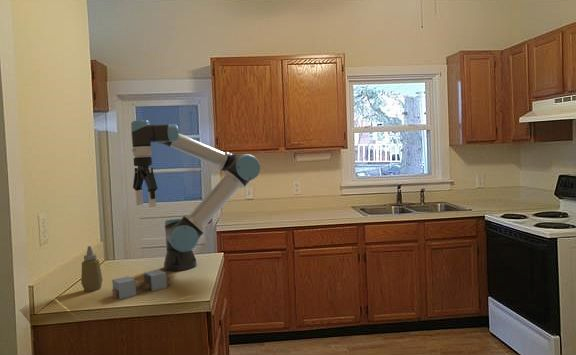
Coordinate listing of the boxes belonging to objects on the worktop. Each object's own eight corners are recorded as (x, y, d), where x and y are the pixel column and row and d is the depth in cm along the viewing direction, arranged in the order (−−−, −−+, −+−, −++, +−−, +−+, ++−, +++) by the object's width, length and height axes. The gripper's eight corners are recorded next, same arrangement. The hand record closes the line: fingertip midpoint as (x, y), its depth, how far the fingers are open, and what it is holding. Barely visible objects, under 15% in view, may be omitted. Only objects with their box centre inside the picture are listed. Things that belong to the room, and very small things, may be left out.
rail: (167, 284, 188) (166, 276, 188) (170, 286, 186) (169, 277, 186) (112, 298, 174) (112, 289, 174) (115, 299, 172) (114, 290, 171)
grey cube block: (159, 284, 188) (158, 269, 188) (167, 287, 182) (166, 272, 182) (143, 287, 184) (142, 273, 183) (150, 291, 178) (149, 276, 178)
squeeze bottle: (80, 294, 181) (76, 249, 180) (83, 288, 189) (80, 245, 188) (102, 291, 183) (98, 247, 182) (104, 286, 191) (101, 243, 190)
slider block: (120, 299, 171) (119, 283, 170) (113, 295, 176) (112, 279, 176) (137, 294, 175) (136, 279, 175) (130, 290, 181) (129, 275, 180)
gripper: (123, 157, 204) (126, 205, 205) (145, 156, 185) (149, 208, 186) (139, 156, 209) (142, 203, 210) (163, 155, 190) (166, 206, 191)
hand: (146, 205), depth 198 cm, fingers open, 13 cm apart
